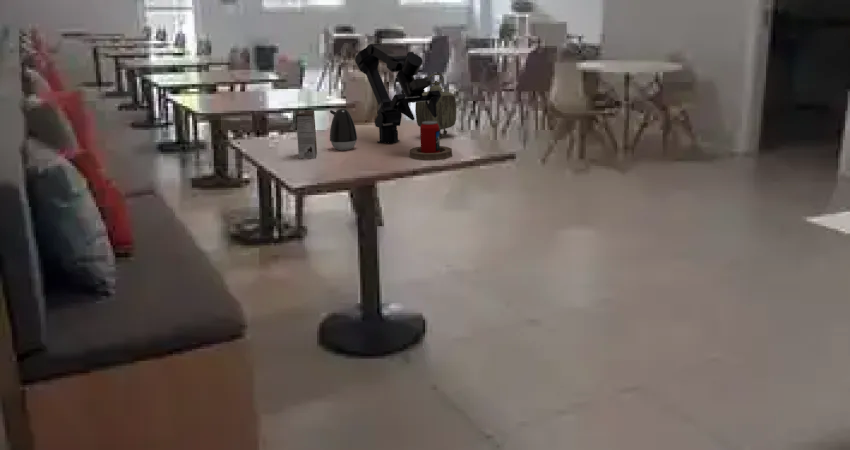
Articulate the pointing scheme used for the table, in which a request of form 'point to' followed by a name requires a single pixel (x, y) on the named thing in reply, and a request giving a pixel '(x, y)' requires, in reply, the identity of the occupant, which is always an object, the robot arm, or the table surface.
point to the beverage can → (430, 137)
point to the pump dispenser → (342, 130)
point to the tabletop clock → (438, 109)
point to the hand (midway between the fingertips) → (424, 118)
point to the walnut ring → (431, 154)
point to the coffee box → (306, 134)
